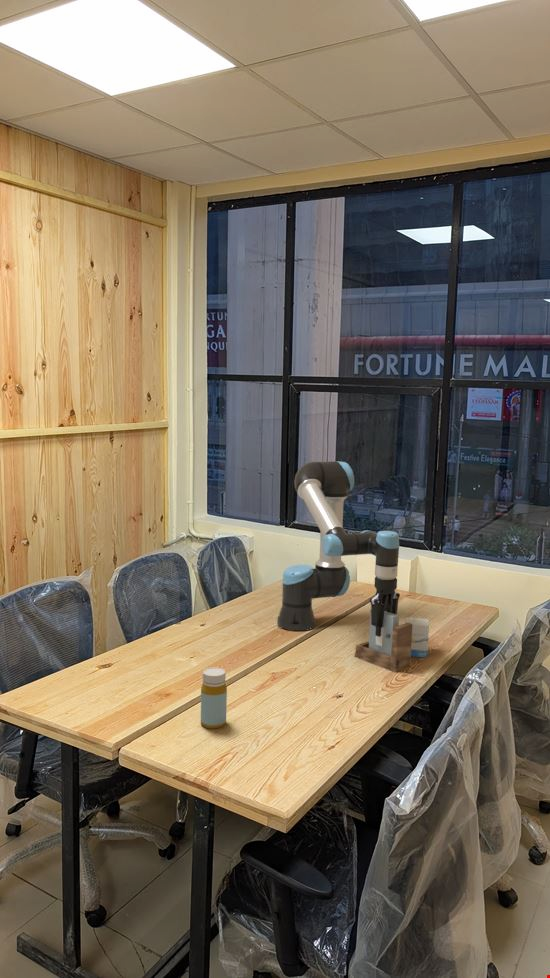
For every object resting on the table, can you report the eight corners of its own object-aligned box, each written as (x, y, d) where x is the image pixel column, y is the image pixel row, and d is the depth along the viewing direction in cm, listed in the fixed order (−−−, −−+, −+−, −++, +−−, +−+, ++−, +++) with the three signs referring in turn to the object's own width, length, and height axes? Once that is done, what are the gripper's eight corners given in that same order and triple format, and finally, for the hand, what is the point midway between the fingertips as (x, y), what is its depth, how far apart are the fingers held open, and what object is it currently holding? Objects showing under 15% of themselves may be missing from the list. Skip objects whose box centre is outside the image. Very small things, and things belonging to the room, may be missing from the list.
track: (354, 656, 248) (356, 615, 246) (369, 651, 253) (371, 610, 251) (395, 672, 235) (397, 628, 233) (410, 666, 240) (412, 624, 238)
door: (366, 649, 245) (368, 610, 243) (374, 647, 248) (376, 608, 246) (389, 657, 238) (391, 617, 236) (396, 655, 241) (398, 615, 239)
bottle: (200, 718, 198) (201, 666, 196) (225, 717, 198) (226, 666, 196) (200, 729, 191) (201, 676, 189) (226, 729, 192) (227, 676, 190)
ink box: (427, 658, 248) (429, 626, 247) (402, 655, 250) (404, 623, 248) (427, 649, 257) (429, 618, 255) (403, 647, 258) (405, 616, 257)
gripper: (379, 583, 232) (376, 652, 235) (409, 575, 242) (406, 641, 245) (361, 578, 237) (359, 645, 240) (392, 571, 248) (389, 636, 251)
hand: (382, 643), depth 243 cm, fingers closed on door, 3 cm apart
